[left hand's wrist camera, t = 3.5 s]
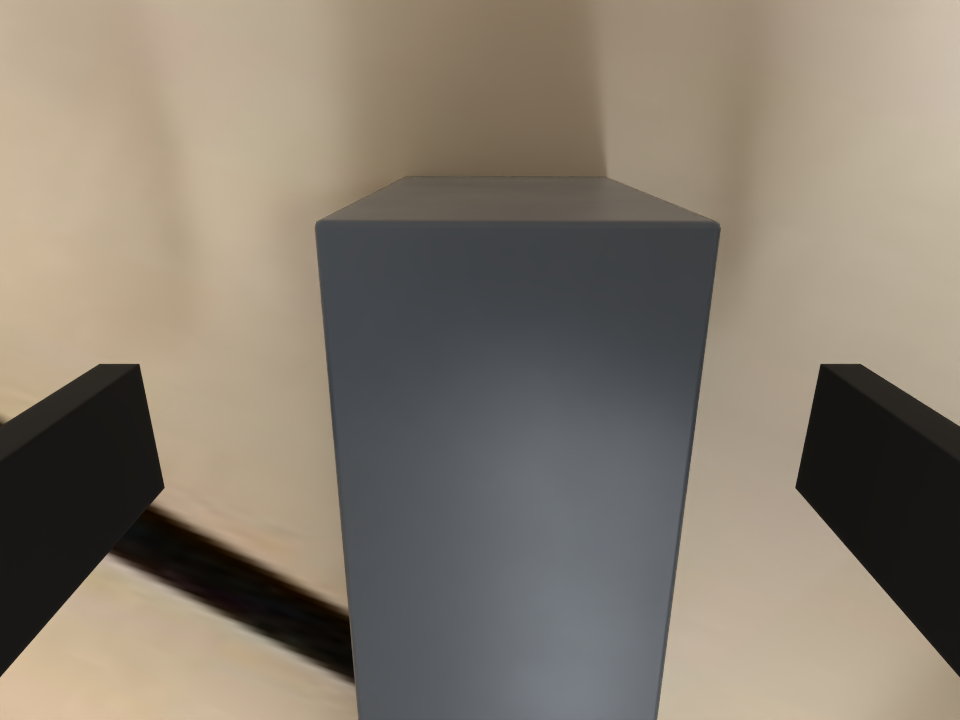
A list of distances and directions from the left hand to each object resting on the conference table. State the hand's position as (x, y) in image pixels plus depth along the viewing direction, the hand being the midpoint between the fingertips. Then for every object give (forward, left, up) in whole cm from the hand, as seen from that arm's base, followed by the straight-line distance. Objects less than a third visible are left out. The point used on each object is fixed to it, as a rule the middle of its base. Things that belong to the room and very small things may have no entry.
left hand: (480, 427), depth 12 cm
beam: (+10, +33, -5) cm, 35 cm away
